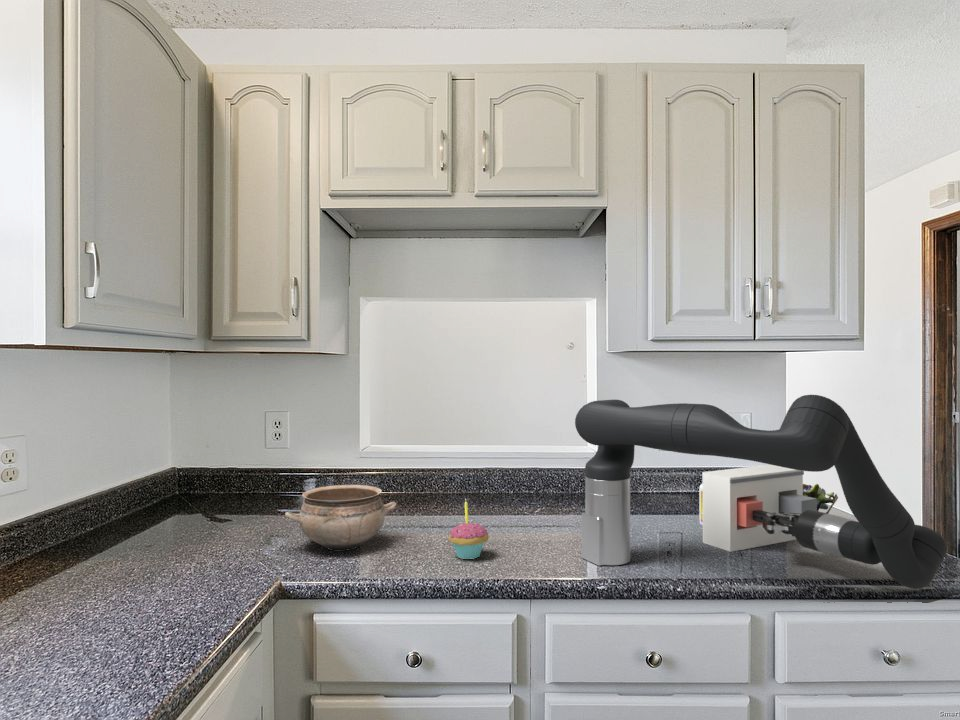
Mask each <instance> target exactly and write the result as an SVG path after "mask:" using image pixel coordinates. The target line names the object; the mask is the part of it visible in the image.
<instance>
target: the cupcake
mask: <svg viewBox="0 0 960 720" xmlns="http://www.w3.org/2000/svg"><path fill="white" fill-rule="evenodd" d="M464 500H465V502H464V513H465V514H464V517H465V522H464V523H463V522H462V523H459V524H457V525H455V526H453V528H452V529H450V531H449V535H448V540H449V541H450V542H451V543H452V545H453V547H454V551H455V554H456V557H457V556H458V557H460V558H465V559H470V558H477V557H479V558H480V556H481V553H482V548H483V546H484V543H487V542H488V541H489V534H490V533H489V531H488V529H487V528H485V527H484V526H483V525H481V524H480V523H474V522H469V521H470V520H469V507H468V506H469V505H468V502H467V498H464ZM458 557H457V558H458ZM477 559H478V558H477Z"/></svg>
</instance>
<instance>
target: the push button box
mask: <svg viewBox="0 0 960 720" xmlns="http://www.w3.org/2000/svg"><path fill="white" fill-rule="evenodd" d="M804 475H805V471H801V470H795V469H790V468H785V467H780V466H775V465H770V464H763V465H754V466H744V467H736V468H728V469H718V470H717V469H716V470H708V471H702V481H701V482H702V483H703V526H702V544H705V545H709V546H712V547H715V548H717V549H720V550H723V551H727V552H729V553H730V552H731V553H733V552H736V551H743V550H746V549H754V548H757V547H758V548H759V547H765V546H769V545H773V544H779V543H785V542H791V541H795V540H796V541H797V539H796V538H795V536H787V535H785V534H784V533H782V532H778V531H775V532H774V534H769V533H767V532H766V530H765V529H764V528H763V525H757V526H751V527H743V526H740V525H737V498H739V497H745V498H749V499H754V500H758V501H762V502H763V511H766V512H770V513H773V512H776V513H779V496H780V495H787V494H798V495H802V496H803V484H804V483H803V482H804V479H803V478H804V477H803V476H804Z"/></svg>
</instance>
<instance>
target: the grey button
mask: <svg viewBox="0 0 960 720" xmlns="http://www.w3.org/2000/svg"><path fill="white" fill-rule="evenodd" d="M806 510H814V511H817V499H816V498H812V497H807V496H802V495H798V494H787V495H780V496H779V513H780V512H787V513H798V514H801V513H802V512H804V511H806Z"/></svg>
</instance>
